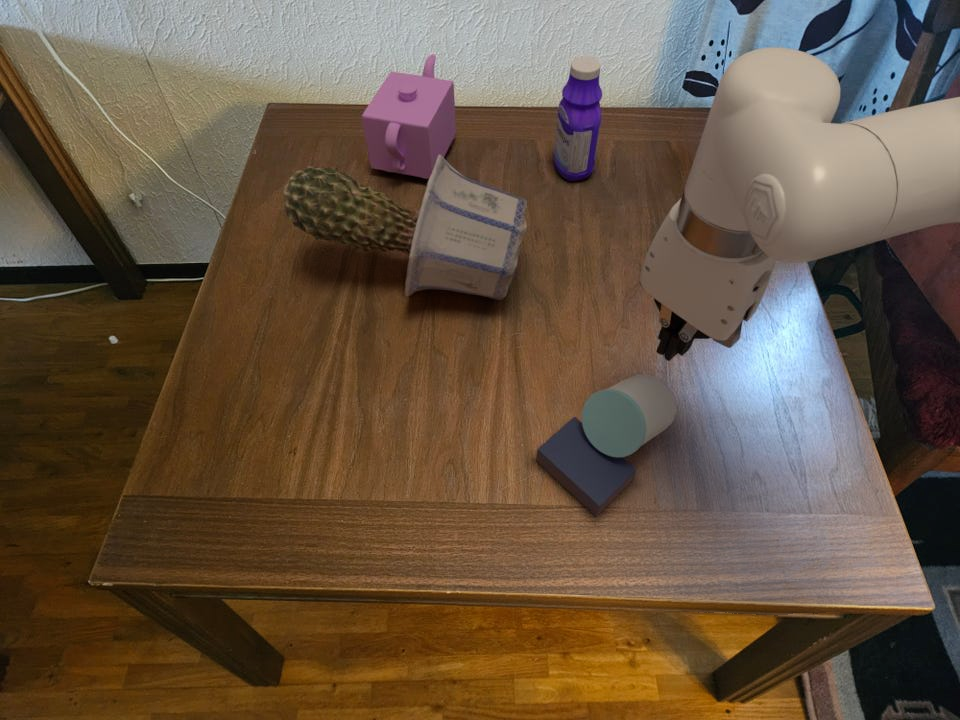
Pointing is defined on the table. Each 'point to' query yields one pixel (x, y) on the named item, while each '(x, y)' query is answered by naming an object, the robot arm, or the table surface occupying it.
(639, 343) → the table surface
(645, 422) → the beige cylinder teal cap
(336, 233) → the potted plant
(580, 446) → the dark rectangular block
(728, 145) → the robot arm
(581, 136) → the bottle
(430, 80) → the teapot
